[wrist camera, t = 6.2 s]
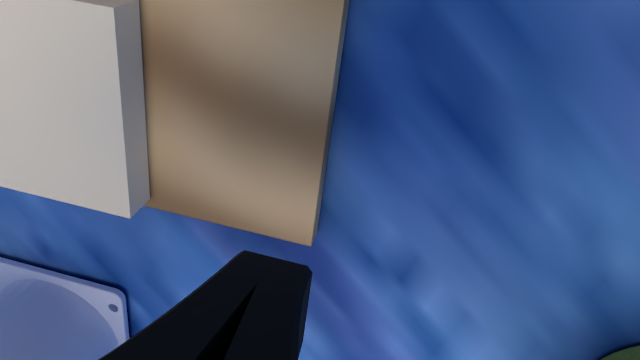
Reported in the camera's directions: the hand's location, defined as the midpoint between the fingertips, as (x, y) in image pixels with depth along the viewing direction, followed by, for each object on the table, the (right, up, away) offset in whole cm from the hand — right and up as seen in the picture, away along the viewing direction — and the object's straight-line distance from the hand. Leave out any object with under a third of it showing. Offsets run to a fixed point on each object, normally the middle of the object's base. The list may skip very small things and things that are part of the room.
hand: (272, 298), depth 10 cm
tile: (-6, +5, +9) cm, 12 cm away
